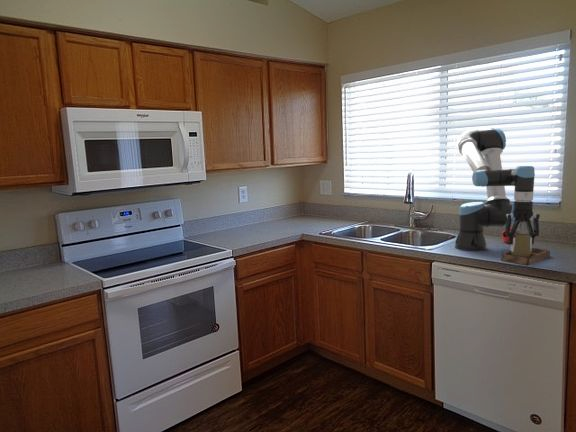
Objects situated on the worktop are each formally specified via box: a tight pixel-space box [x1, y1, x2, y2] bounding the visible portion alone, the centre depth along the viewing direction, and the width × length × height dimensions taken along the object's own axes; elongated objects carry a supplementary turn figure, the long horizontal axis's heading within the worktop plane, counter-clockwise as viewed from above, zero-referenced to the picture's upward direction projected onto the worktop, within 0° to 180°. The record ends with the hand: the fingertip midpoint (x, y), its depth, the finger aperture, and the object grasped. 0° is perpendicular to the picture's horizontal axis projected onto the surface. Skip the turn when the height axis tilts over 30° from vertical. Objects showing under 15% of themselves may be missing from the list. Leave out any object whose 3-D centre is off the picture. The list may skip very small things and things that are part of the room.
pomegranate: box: [501, 226, 519, 244], centre depth 237 cm, size 10×10×9 cm
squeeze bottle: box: [510, 221, 531, 258], centre depth 200 cm, size 8×8×18 cm
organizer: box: [500, 247, 551, 266], centre depth 204 cm, size 12×22×3 cm, turn 128°
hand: (520, 251), depth 200 cm, fingers closed on squeeze bottle, 6 cm apart
